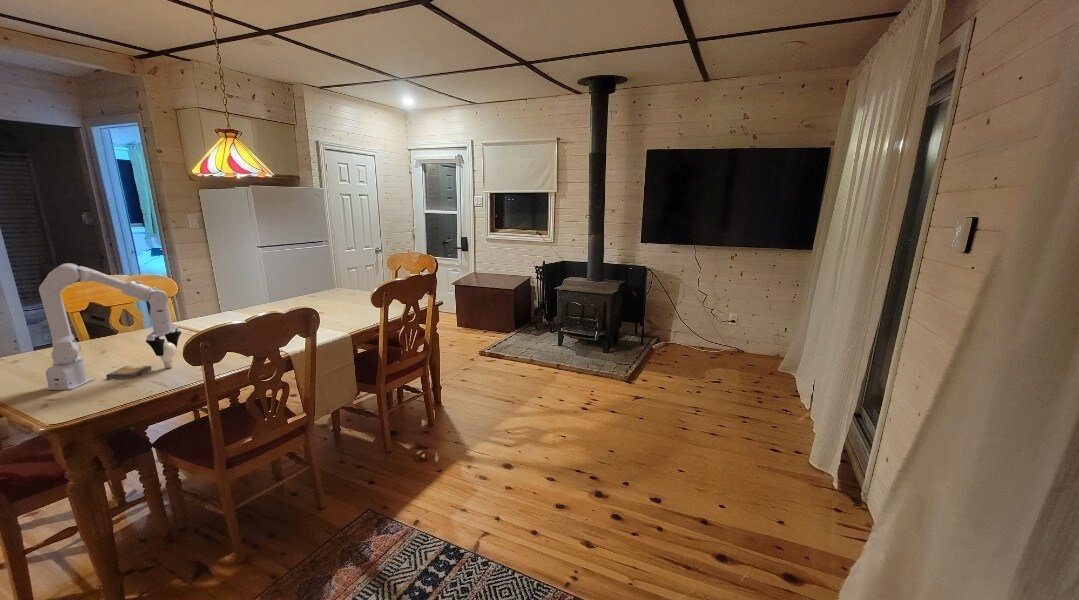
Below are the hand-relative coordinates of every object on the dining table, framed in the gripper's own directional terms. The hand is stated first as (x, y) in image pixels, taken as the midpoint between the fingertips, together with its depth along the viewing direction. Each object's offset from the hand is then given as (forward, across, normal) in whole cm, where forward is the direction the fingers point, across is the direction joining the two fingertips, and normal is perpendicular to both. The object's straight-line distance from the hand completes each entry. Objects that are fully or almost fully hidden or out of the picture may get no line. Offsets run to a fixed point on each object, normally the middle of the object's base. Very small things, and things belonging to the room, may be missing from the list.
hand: (166, 352), depth 172 cm
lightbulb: (+7, 0, 0) cm, 7 cm away
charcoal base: (+7, -7, +10) cm, 13 cm away
